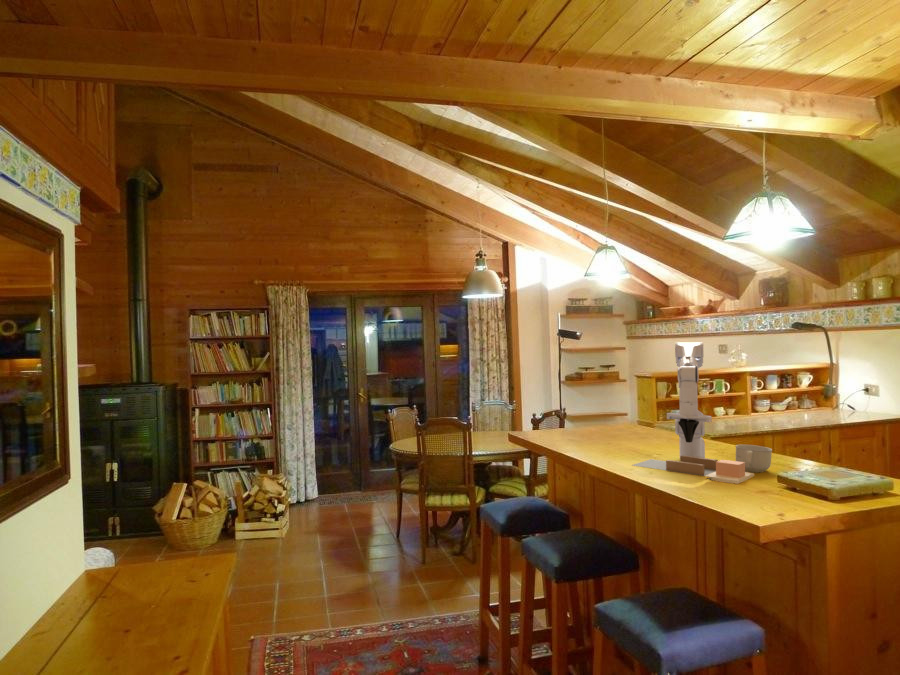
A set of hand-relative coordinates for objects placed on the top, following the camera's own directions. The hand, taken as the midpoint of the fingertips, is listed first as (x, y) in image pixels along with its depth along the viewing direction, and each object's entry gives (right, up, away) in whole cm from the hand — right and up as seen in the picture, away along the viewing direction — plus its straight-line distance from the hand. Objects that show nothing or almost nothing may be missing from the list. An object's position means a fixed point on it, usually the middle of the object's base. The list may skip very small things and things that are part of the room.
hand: (689, 442), depth 207 cm
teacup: (+19, -9, -4) cm, 22 cm away
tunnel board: (-1, -9, -4) cm, 10 cm away
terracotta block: (+8, -8, -13) cm, 17 cm away
